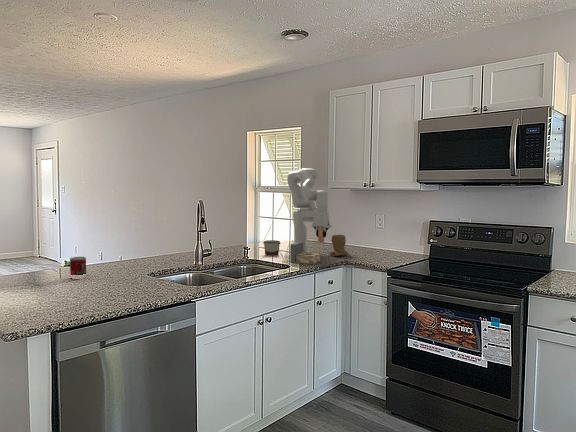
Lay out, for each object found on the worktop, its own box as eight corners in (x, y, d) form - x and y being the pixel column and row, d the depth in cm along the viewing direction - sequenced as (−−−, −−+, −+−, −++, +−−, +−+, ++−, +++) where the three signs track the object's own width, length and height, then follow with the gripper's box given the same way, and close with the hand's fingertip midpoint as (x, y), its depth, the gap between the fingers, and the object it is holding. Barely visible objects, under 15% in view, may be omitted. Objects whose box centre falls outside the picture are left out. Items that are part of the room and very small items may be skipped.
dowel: (319, 241, 300) (319, 223, 299) (324, 241, 298) (325, 223, 297) (317, 241, 296) (317, 223, 295) (322, 242, 294) (323, 224, 293)
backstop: (299, 259, 299) (299, 241, 298) (303, 259, 297) (303, 241, 297) (290, 262, 286) (290, 244, 285) (294, 263, 285) (294, 244, 284)
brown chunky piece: (338, 253, 326) (338, 232, 325) (351, 255, 317) (351, 234, 316) (324, 255, 316) (324, 234, 314) (337, 257, 307) (338, 235, 306)
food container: (281, 254, 321) (281, 240, 320) (280, 255, 315) (280, 241, 314) (264, 253, 322) (264, 240, 321) (263, 255, 316) (263, 241, 315)
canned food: (76, 280, 232) (75, 259, 231) (67, 278, 236) (66, 258, 235) (89, 278, 238) (89, 257, 237) (80, 276, 242) (80, 256, 242)
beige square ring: (302, 259, 296) (303, 252, 296) (319, 261, 291) (320, 253, 291) (295, 262, 286) (295, 254, 285) (313, 264, 281) (313, 256, 280)
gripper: (307, 209, 295) (307, 236, 297) (331, 210, 288) (331, 238, 290) (312, 208, 302) (311, 235, 304) (335, 209, 295) (334, 237, 297)
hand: (321, 236), depth 297 cm, fingers closed on dowel, 4 cm apart
